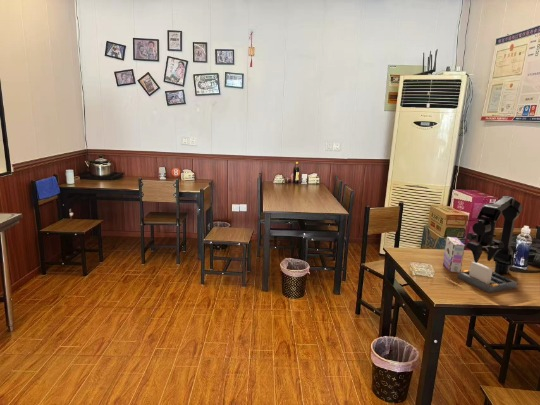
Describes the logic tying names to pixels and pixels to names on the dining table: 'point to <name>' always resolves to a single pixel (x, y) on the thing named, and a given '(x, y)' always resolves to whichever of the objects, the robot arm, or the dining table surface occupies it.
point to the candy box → (453, 254)
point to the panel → (481, 272)
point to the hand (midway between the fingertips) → (482, 261)
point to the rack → (495, 285)
